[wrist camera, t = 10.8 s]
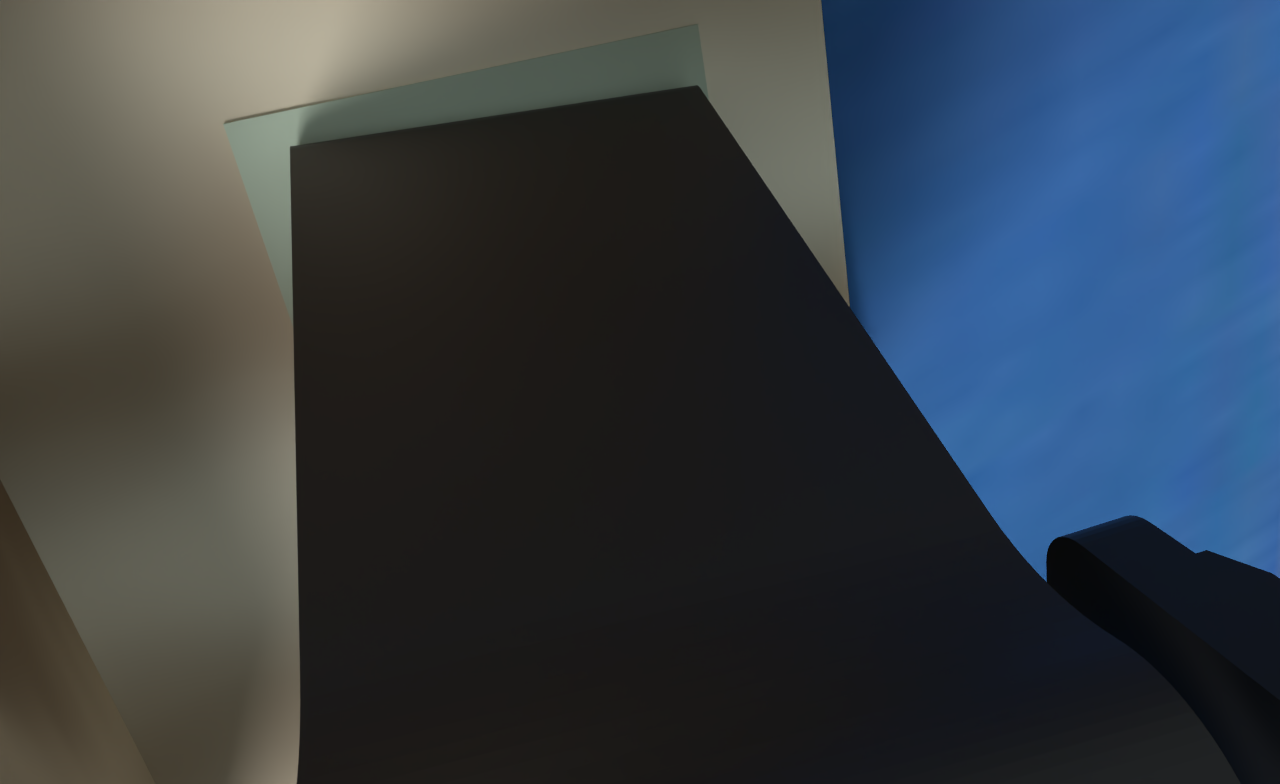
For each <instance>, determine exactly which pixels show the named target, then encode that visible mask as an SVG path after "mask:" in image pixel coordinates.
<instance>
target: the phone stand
mask: <svg viewBox="0 0 1280 784" xmlns="http://www.w3.org/2000/svg"><path fill="white" fill-rule="evenodd" d="M290 184H291V236H292V288H293V340H294V392H295V444H296V496H297V548H298V599H299V651H300V738H299V759H298V773H297V784H1241V783H1240V781H1239V780H1238V778H1237V776H1236V774H1235V772H1234V771H1233V769H1232V767H1231V766H1230V764H1229V762H1228V761H1227V759H1226V757H1225V756H1224V754H1223V752H1222V751H1221V749H1220V748H1219V746H1218V745H1217V743H1216V742H1215V740H1214V739H1213V737H1212V736H1211V734H1210V733H1209V732H1208V730H1207V729H1206V727H1205V726H1204V724H1203V723H1202V722H1201V720H1200V719H1199V718H1198V716H1197V715H1196V714H1195V712H1194V711H1193V710H1192V709H1191V707H1190V706H1189V705H1188V704H1187V703H1186V701H1185V700H1184V699H1183V698H1182V697H1181V695H1180V694H1179V693H1178V692H1177V691H1176V690H1175V689H1174V687H1173V686H1172V685H1171V684H1170V683H1169V682H1168V681H1167V680H1166V679H1165V678H1164V677H1163V676H1162V675H1161V674H1160V673H1159V672H1158V671H1157V670H1156V669H1155V668H1154V667H1153V666H1152V665H1151V664H1150V663H1148V662H1147V661H1146V660H1145V659H1144V658H1143V657H1142V656H1140V655H1139V654H1138V653H1137V652H1135V651H1134V650H1133V649H1131V648H1130V647H1129V646H1127V645H1126V644H1124V643H1123V642H1121V641H1120V640H1118V639H1117V638H1115V637H1114V636H1112V635H1111V634H1109V633H1108V632H1106V631H1105V630H1103V629H1102V628H1100V627H1099V626H1097V625H1096V624H1095V623H1093V622H1092V621H1091V620H1089V619H1088V618H1086V617H1085V616H1084V615H1083V614H1081V613H1080V612H1079V611H1078V610H1076V609H1075V608H1074V607H1073V606H1072V605H1070V604H1069V603H1068V602H1067V601H1066V600H1065V599H1064V598H1063V597H1061V596H1060V595H1059V594H1058V593H1057V592H1056V591H1055V590H1054V589H1053V588H1052V587H1051V586H1050V585H1049V584H1048V583H1047V582H1046V581H1045V580H1044V579H1043V578H1042V577H1041V576H1040V575H1039V574H1038V573H1037V572H1036V571H1035V570H1034V569H1033V568H1032V567H1031V565H1030V564H1029V563H1028V562H1027V561H1026V560H1025V559H1024V557H1023V556H1022V555H1021V554H1020V553H1019V552H1018V550H1017V549H1016V548H1015V547H1014V546H1013V544H1012V543H1011V542H1010V540H1009V539H1008V538H1007V536H1006V535H1005V534H1004V533H1003V531H1002V530H1001V529H1000V527H999V526H998V524H997V523H996V521H995V520H994V519H993V517H992V516H991V514H990V513H989V512H988V510H987V509H986V507H985V506H984V504H983V503H982V501H981V500H980V498H979V497H978V495H977V494H976V492H975V491H974V489H973V488H972V487H971V485H970V484H969V482H968V481H967V479H966V478H965V476H964V475H963V473H962V472H961V470H960V469H959V467H958V466H957V465H956V463H955V462H954V460H953V459H952V457H951V456H950V454H949V453H948V451H947V450H946V448H945V447H944V445H943V444H942V442H941V441H940V440H939V438H938V437H937V435H936V434H935V432H934V431H933V429H932V428H931V426H930V425H929V423H928V422H927V420H926V419H925V417H924V416H923V415H922V413H921V412H920V410H919V409H918V407H917V406H916V404H915V403H914V401H913V400H912V398H911V397H910V395H909V394H908V392H907V391H906V390H905V388H904V387H903V385H902V384H901V382H900V381H899V379H898V378H897V376H896V375H895V373H894V372H893V370H892V369H891V368H890V366H889V365H888V363H887V362H886V360H885V359H884V357H883V356H882V354H881V353H880V351H879V350H878V348H877V347H876V345H875V344H874V343H873V341H872V340H871V338H870V337H869V335H868V334H867V332H866V331H865V329H864V328H863V326H862V325H861V323H860V322H859V320H858V319H857V318H856V316H855V315H854V313H853V312H852V310H851V309H850V307H849V306H848V304H847V303H846V301H845V300H844V298H843V297H842V296H841V294H840V293H839V291H838V290H837V288H836V287H835V285H834V284H833V282H832V281H831V279H830V278H829V276H828V275H827V273H826V272H825V271H824V269H823V268H822V266H821V265H820V263H819V262H818V260H817V259H816V257H815V256H814V254H813V253H812V251H811V250H810V248H809V247H808V246H807V244H806V243H805V241H804V240H803V238H802V237H801V235H800V234H799V232H798V231H797V229H796V228H795V226H794V225H793V224H792V222H791V221H790V219H789V218H788V216H787V215H786V213H785V212H784V210H783V209H782V207H781V206H780V204H779V203H778V201H777V200H776V199H775V197H774V196H773V194H772V193H771V191H770V190H769V188H768V187H767V185H766V184H765V182H764V181H763V179H762V178H761V176H760V175H759V174H758V172H757V171H756V169H755V168H754V166H753V165H752V163H751V162H750V160H749V159H748V157H747V156H746V154H745V153H744V151H743V150H742V149H741V147H740V146H739V144H738V143H737V141H736V140H735V138H734V137H733V135H732V134H731V132H730V131H729V129H728V128H727V127H726V125H725V124H724V122H723V121H722V119H721V118H720V116H719V115H718V113H717V112H716V110H715V109H714V107H713V106H712V104H711V103H710V102H709V100H708V99H707V97H706V96H705V94H704V93H703V91H702V90H701V88H700V87H699V86H698V85H694V86H688V87H681V88H674V89H668V90H661V91H655V92H648V93H641V94H635V95H628V96H621V97H615V98H608V99H601V100H595V101H588V102H581V103H575V104H568V105H562V106H555V107H548V108H542V109H535V110H528V111H522V112H515V113H508V114H502V115H495V116H488V117H482V118H475V119H468V120H462V121H455V122H449V123H442V124H435V125H429V126H422V127H415V128H409V129H402V130H395V131H389V132H382V133H375V134H369V135H362V136H355V137H349V138H342V139H336V140H329V141H322V142H316V143H309V144H302V145H296V146H290Z"/></svg>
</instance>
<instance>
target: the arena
mask: <svg viewBox="0 0 1280 784" xmlns="http://www.w3.org/2000/svg"><path fill="white" fill-rule="evenodd" d="M694 85H698V86H699V87H700V88H701V90H702V91H703V93H704V94H705V96H706V97H707V99H708V100H709V102H710V103H711V104H712V106H713V107H714V109H715V110H716V112H717V113H718V115H719V116H720V118H721V119H722V121H723V122H724V124H725V125H726V127H727V128H728V129H729V131H730V132H731V134H732V135H733V137H734V138H735V140H736V141H737V143H738V144H739V146H740V147H741V149H742V150H743V151H744V153H745V154H746V156H747V157H748V159H749V160H750V162H751V163H752V165H753V166H754V168H755V169H756V171H757V172H758V174H759V175H760V176H761V178H762V179H763V181H764V182H765V184H766V185H767V187H768V188H769V190H770V191H771V193H772V194H773V196H774V197H775V199H776V200H777V201H778V203H779V204H780V206H781V207H782V209H783V210H784V212H785V213H786V215H787V216H788V218H789V219H790V221H791V222H792V224H793V225H794V226H795V228H796V229H797V231H798V232H799V234H800V235H801V237H802V238H803V240H804V241H805V243H806V244H807V246H808V247H809V248H810V250H811V251H812V253H813V254H814V256H815V257H816V259H817V260H818V262H819V263H820V265H821V266H822V268H823V269H824V271H825V272H826V273H827V275H828V276H829V278H830V279H831V281H832V282H833V284H834V285H835V287H836V288H837V290H838V291H839V293H840V294H841V296H842V297H843V298H844V300H845V301H846V303H847V304H848V306H849V307H850V303H849V292H848V281H847V271H846V260H845V250H844V239H843V228H842V218H841V207H840V196H839V186H838V175H837V164H836V154H835V143H834V133H833V122H832V111H831V101H830V90H829V79H828V69H827V58H826V47H825V37H824V26H823V16H822V5H821V0H0V784H297V773H298V759H299V738H300V651H299V599H298V548H297V496H296V444H295V392H294V340H293V288H292V236H291V184H290V146H296V145H302V144H309V143H316V142H322V141H329V140H336V139H342V138H349V137H355V136H362V135H369V134H375V133H382V132H389V131H395V130H402V129H409V128H415V127H422V126H429V125H435V124H442V123H449V122H455V121H462V120H468V119H475V118H482V117H488V116H495V115H502V114H508V113H515V112H522V111H528V110H535V109H542V108H548V107H555V106H562V105H568V104H575V103H581V102H588V101H595V100H601V99H608V98H615V97H621V96H628V95H635V94H641V93H648V92H655V91H661V90H668V89H674V88H681V87H688V86H694Z"/></svg>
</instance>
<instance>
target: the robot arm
mask: <svg viewBox="0 0 1280 784" xmlns="http://www.w3.org/2000/svg"><path fill="white" fill-rule="evenodd" d="M1046 567H1047V583H1048V584H1049V585H1050V586H1051V587H1052V588H1053V589H1054V590H1055V591H1056V592H1057V593H1058V594H1059V595H1060V596H1061V597H1063V598H1064V599H1065V600H1066V601H1067V602H1068V603H1069V604H1070V605H1072V606H1073V607H1074V608H1075V609H1076V610H1078V611H1079V612H1080V613H1081V614H1083V615H1084V616H1085V617H1086V618H1088V619H1089V620H1091V621H1092V622H1093V623H1095V624H1096V625H1097V626H1099V627H1100V628H1102V629H1103V630H1105V631H1106V632H1108V633H1109V634H1111V635H1112V636H1114V637H1115V638H1117V639H1118V640H1120V641H1121V642H1123V643H1124V644H1126V645H1127V646H1129V647H1130V648H1131V649H1133V650H1134V651H1135V652H1137V653H1138V654H1139V655H1140V656H1142V657H1143V658H1144V659H1145V660H1146V661H1147V662H1148V663H1150V664H1151V665H1152V666H1153V667H1154V668H1155V669H1156V670H1157V671H1158V672H1159V673H1160V674H1161V675H1162V676H1163V677H1164V678H1165V679H1166V680H1167V681H1168V682H1169V683H1170V684H1171V685H1172V686H1173V687H1174V689H1175V690H1176V691H1177V692H1178V693H1179V694H1180V695H1181V697H1182V698H1183V699H1184V700H1185V701H1186V703H1187V704H1188V705H1189V706H1190V707H1191V709H1192V710H1193V711H1194V712H1195V714H1196V715H1197V716H1198V718H1199V719H1200V720H1201V722H1202V723H1203V724H1204V726H1205V727H1206V729H1207V730H1208V732H1209V733H1210V734H1211V736H1212V737H1213V739H1214V740H1215V742H1216V743H1217V745H1218V746H1219V748H1220V749H1221V751H1222V752H1223V754H1224V756H1225V757H1226V759H1227V761H1228V762H1229V764H1230V766H1231V767H1232V769H1233V771H1234V772H1235V774H1236V776H1237V778H1238V780H1239V781H1240V783H1241V784H1280V578H1278V577H1277V576H1275V575H1273V574H1272V573H1269V572H1267V571H1264V570H1261V569H1258V568H1255V567H1252V566H1250V565H1247V564H1244V563H1241V562H1238V561H1235V560H1233V559H1230V558H1227V557H1224V556H1221V555H1219V554H1216V553H1213V552H1210V551H1207V550H1206V551H1203V552H1200V553H1197V554H1196V553H1194V552H1193V551H1191V550H1190V549H1188V548H1187V547H1185V546H1184V545H1182V544H1181V543H1179V542H1178V541H1176V540H1175V539H1174V538H1172V537H1171V536H1169V535H1168V534H1166V533H1165V532H1163V531H1162V530H1160V529H1159V528H1157V527H1156V526H1155V525H1153V524H1152V523H1150V522H1148V521H1147V520H1145V519H1143V518H1140V517H1138V516H1131V515H1130V516H1125V517H1122V518H1118V519H1115V520H1112V521H1109V522H1106V523H1103V524H1099V525H1096V526H1093V527H1090V528H1087V529H1083V530H1080V531H1077V532H1074V533H1071V534H1068V535H1064V536H1061V537H1058V538H1056V539H1054V540H1053V541H1052V543H1051V544H1050V546H1049V548H1048V552H1047V561H1046Z"/></svg>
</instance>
